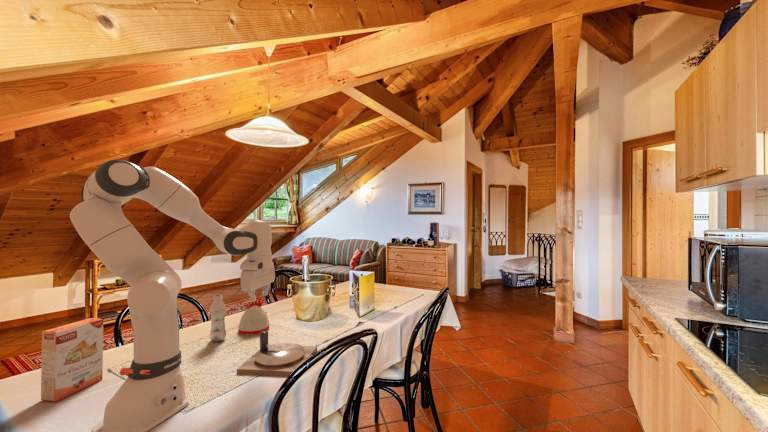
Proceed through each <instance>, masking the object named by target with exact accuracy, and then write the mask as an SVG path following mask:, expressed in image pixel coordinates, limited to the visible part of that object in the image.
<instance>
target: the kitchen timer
mask: <svg viewBox="0 0 768 432" xmlns="http://www.w3.org/2000/svg"><path fill="white" fill-rule="evenodd" d="M263 304H264V300H262V301H261V298H260V297H259V299H258V300H257V299H256V301H254V302H250V301H248V306H247V304H245V308H246V309H245V310H244V312H243V313H242V315H241V317H240V321H239V323H238V333H239V334H241V335H244V334H253V335H259V334H260V332H261V331H266V330H267V331H269V330H270V319H269V318H268V314H267V312H266V311H265V310H264V309H263V307H262V305H263ZM258 333H259V334H258Z"/></svg>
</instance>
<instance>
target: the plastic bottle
mask: <svg viewBox="0 0 768 432" xmlns="http://www.w3.org/2000/svg"><path fill="white" fill-rule="evenodd" d="M223 299H224V298H223V294H214V295H213V298H212V300H213V302H212V303H211V304H210V307H209V311H210V320H211V324H210V333H209V339H210V341H212V342H215V343H216V342H221V341H224V340H225V339H226V337H227V331H226V323H225V322H226V321H225V318H226V309H227V306H226V304H225V302H224V301H223Z"/></svg>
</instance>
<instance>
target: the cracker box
mask: <svg viewBox="0 0 768 432" xmlns="http://www.w3.org/2000/svg"><path fill="white" fill-rule="evenodd" d="M103 357H104V319H103V318H96V317H89V318H84V319H81V320H78V321H75V322H72V323H68V324H64V325H61V326H57V327H53V328H50V329H45V330H43V331H41V362H40V363H41V366H40V367H41V369H40V371H41V372H40V373H41V374H40V375H41V376H40V377H41V379H40V381H41V382H40V385H41V386H40V392H41V393H40V398H41V399H40V400H41V401H46V402H54V403H56V402H58V401H60V400H61V399H65V398H66V397H70V396H71V395H73V394H75V393H78V392H79V391H81V390H83V389H85V388H88V387H89V386H92V385H94V384H96V383H98V382H100V381H102V380H103V369H104V367H103V363H104V361H103V360H104V359H103Z"/></svg>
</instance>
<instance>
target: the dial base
mask: <svg viewBox="0 0 768 432" xmlns="http://www.w3.org/2000/svg"><path fill="white" fill-rule="evenodd" d="M270 345H271V344H268V346H270ZM302 346H303V347H304V349H305V354H304V356H303V358H302V359H300V360H299V361H297V362H295V363H292V364H289V365H285V366H279V367H265V366H261V365H258V364H257V363H256V362H255V354H256V352H255V353H254V354H252V355H251V357H250V358H247V360H246V361H245V362H244V363H242V364H241V365H240V366H239V367H238V368H237V369H236V374H243V375H261V376H262V375H264V376H285V377H287V376H288V377H290V376H289V375H290V374H291V373H292V372H293V371H294V370H295V369H296V368H297V367H298V366H299V365H301V364H302V363H303V362H304V361H305V360H307V359H308V358H309V357H310V356H311V355H313V354H314V353H317V351H318V346H316V345H302ZM314 355H315V354H314ZM314 355H313V356H314Z"/></svg>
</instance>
